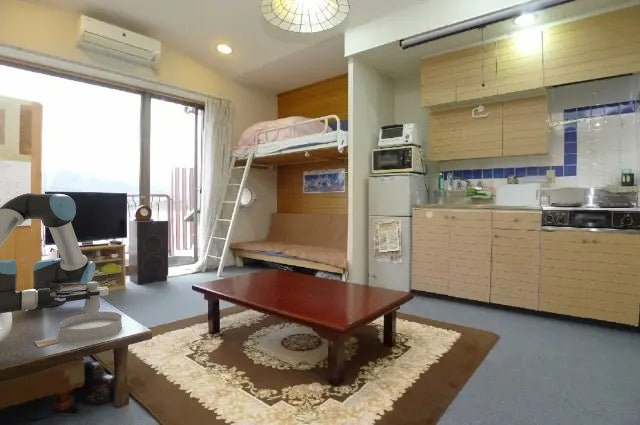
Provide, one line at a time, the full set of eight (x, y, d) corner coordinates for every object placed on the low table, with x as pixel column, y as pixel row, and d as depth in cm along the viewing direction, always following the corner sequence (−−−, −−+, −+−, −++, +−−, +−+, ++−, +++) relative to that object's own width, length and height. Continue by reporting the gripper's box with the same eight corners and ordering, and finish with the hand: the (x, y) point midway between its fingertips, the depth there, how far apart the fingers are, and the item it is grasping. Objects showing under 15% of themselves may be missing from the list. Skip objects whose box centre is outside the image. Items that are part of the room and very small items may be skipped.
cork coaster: (34, 343, 129) (34, 341, 129) (54, 338, 134) (54, 337, 133) (38, 347, 125) (38, 346, 125) (58, 343, 130) (58, 341, 130)
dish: (90, 320, 156) (90, 309, 155) (133, 324, 152) (133, 313, 152) (43, 338, 134) (44, 326, 133) (93, 344, 130) (93, 332, 130)
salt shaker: (96, 309, 146) (97, 279, 146) (102, 312, 143) (103, 282, 143) (81, 312, 142) (82, 282, 142) (86, 315, 138) (87, 284, 138)
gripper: (36, 303, 137) (104, 295, 152) (36, 313, 125) (110, 303, 140) (36, 285, 137) (104, 278, 152) (37, 293, 124) (111, 285, 140)
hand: (107, 290), depth 146 cm, fingers closed on salt shaker, 3 cm apart
